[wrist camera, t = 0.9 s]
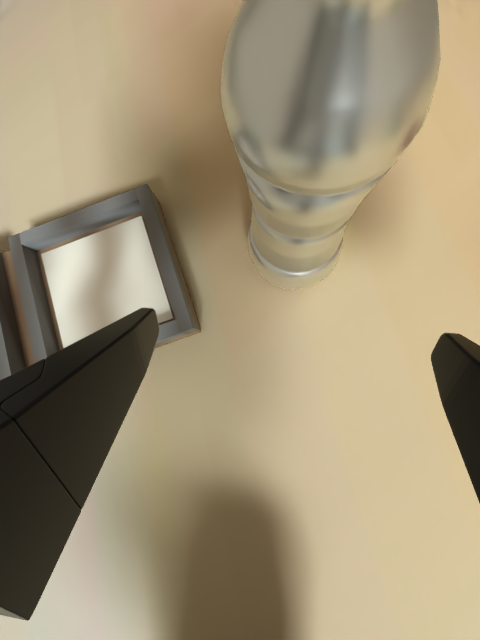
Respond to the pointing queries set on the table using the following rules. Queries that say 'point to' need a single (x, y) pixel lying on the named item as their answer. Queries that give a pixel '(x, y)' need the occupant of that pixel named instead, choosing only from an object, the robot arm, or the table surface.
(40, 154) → the table surface
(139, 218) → the grey flat tray
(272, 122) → the plastic bottle
